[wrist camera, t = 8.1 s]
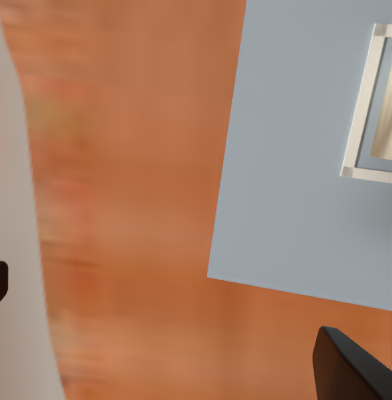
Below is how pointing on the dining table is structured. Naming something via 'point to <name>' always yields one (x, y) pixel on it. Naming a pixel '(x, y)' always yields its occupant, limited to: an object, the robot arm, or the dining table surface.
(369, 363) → the robot arm
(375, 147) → the beech block
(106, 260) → the dining table surface
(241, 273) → the build board
